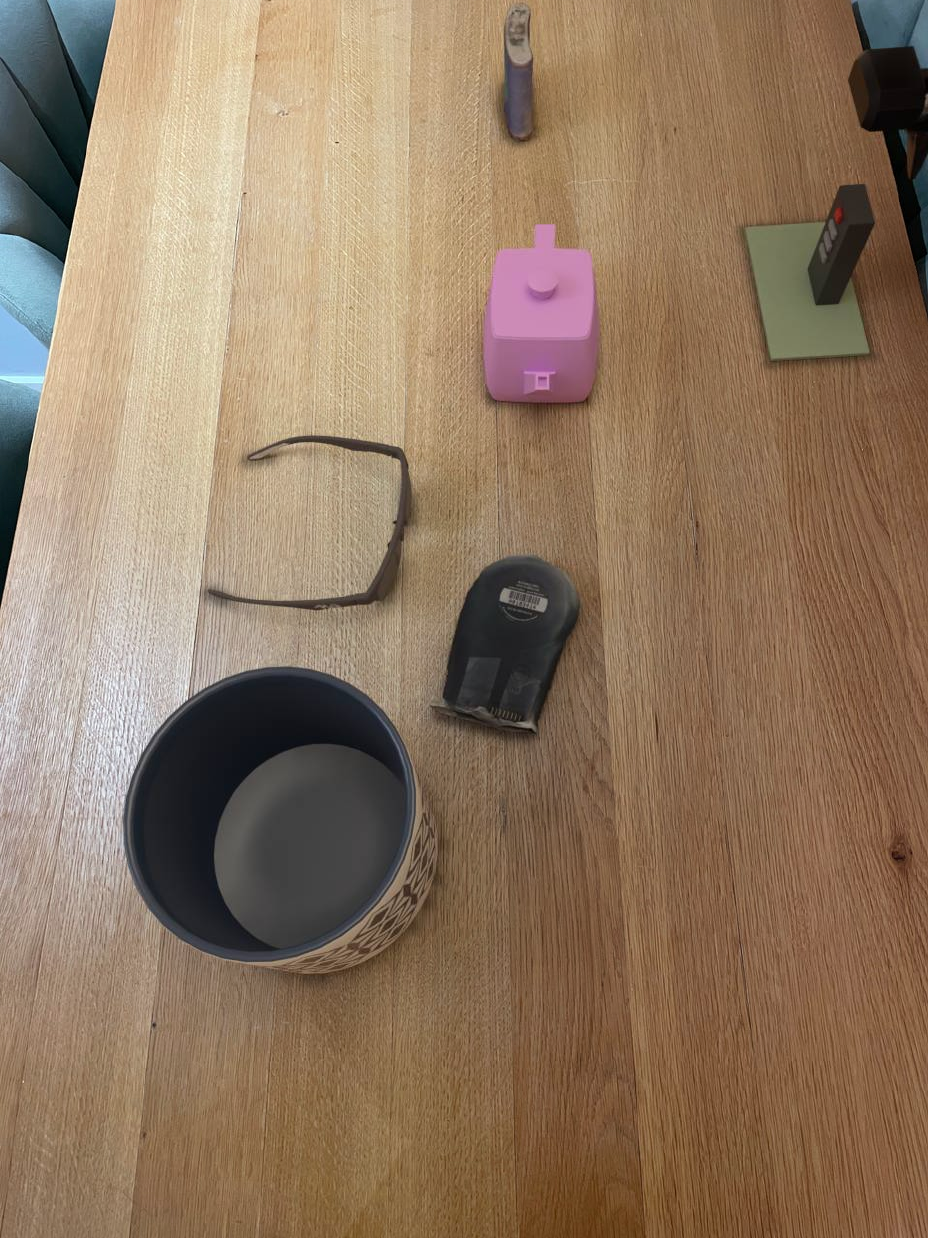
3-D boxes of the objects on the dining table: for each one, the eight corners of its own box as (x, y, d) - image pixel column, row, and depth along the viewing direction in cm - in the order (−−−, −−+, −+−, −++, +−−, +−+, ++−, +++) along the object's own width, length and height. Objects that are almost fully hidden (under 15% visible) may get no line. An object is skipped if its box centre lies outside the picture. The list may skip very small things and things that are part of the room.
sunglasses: (396, 633, 79) (381, 609, 74) (213, 616, 82) (188, 592, 78) (431, 465, 85) (420, 433, 80) (259, 455, 88) (239, 425, 84)
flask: (532, 141, 100) (534, 45, 90) (505, 142, 100) (503, 47, 90) (529, 80, 103) (530, -19, 93) (502, 81, 103) (500, -17, 94)
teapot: (595, 441, 85) (605, 369, 76) (479, 438, 86) (474, 367, 76) (597, 284, 92) (605, 200, 82) (489, 283, 93) (485, 200, 83)
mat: (744, 229, 94) (745, 226, 93) (836, 223, 93) (837, 220, 93) (770, 361, 87) (771, 358, 87) (868, 355, 87) (869, 352, 87)
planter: (205, 746, 76) (127, 680, 61) (429, 722, 76) (406, 650, 61) (202, 987, 69) (113, 980, 54) (449, 961, 69) (429, 947, 54)
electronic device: (548, 746, 76) (592, 573, 79) (538, 734, 71) (585, 550, 74) (440, 720, 79) (487, 554, 82) (423, 706, 73) (473, 530, 77)
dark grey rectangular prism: (830, 267, 91) (865, 183, 81) (838, 304, 89) (875, 222, 80) (803, 268, 91) (836, 185, 82) (812, 305, 89) (845, 224, 80)
